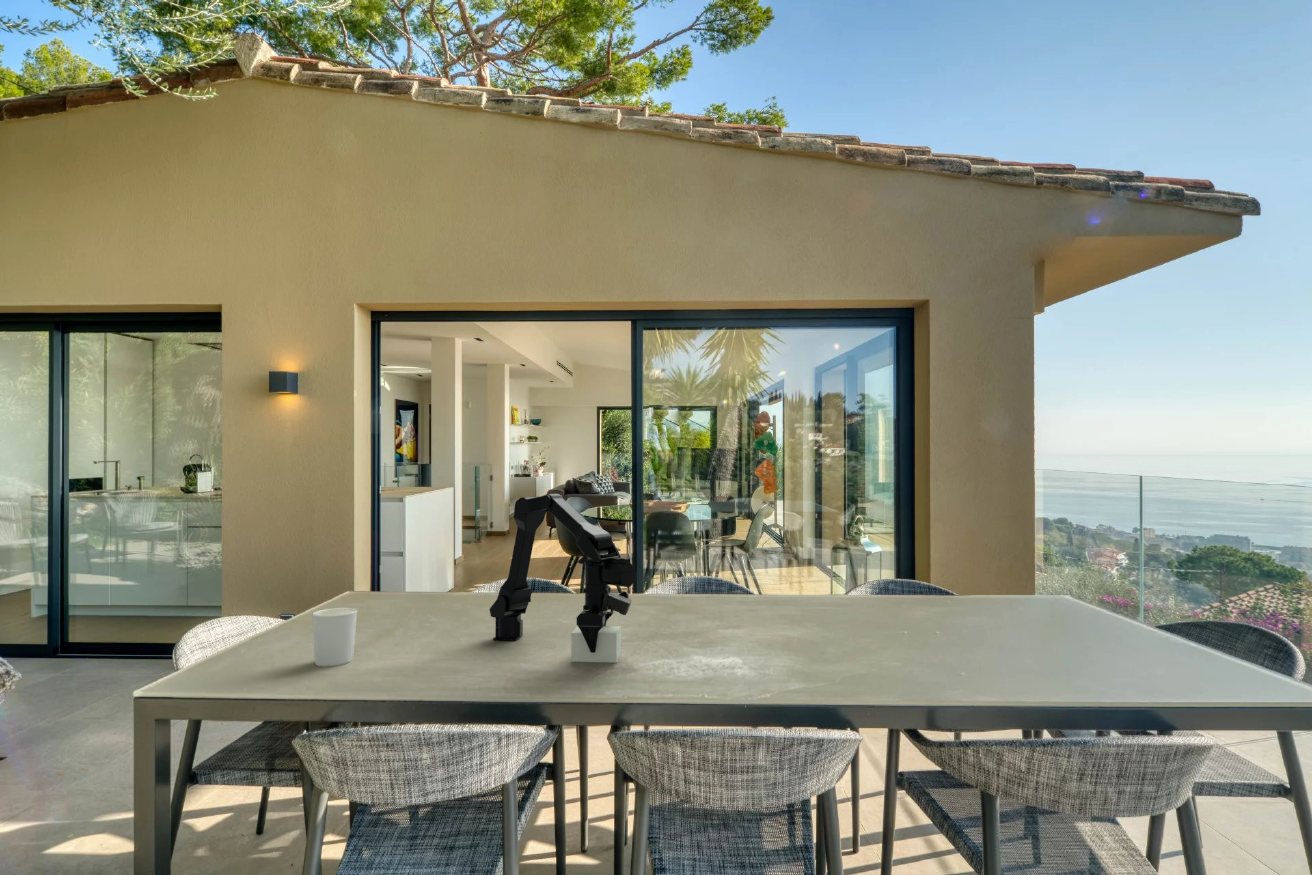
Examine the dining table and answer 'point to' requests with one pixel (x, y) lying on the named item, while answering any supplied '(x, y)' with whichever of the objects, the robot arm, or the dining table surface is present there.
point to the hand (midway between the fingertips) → (596, 647)
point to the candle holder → (334, 636)
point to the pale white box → (605, 648)
